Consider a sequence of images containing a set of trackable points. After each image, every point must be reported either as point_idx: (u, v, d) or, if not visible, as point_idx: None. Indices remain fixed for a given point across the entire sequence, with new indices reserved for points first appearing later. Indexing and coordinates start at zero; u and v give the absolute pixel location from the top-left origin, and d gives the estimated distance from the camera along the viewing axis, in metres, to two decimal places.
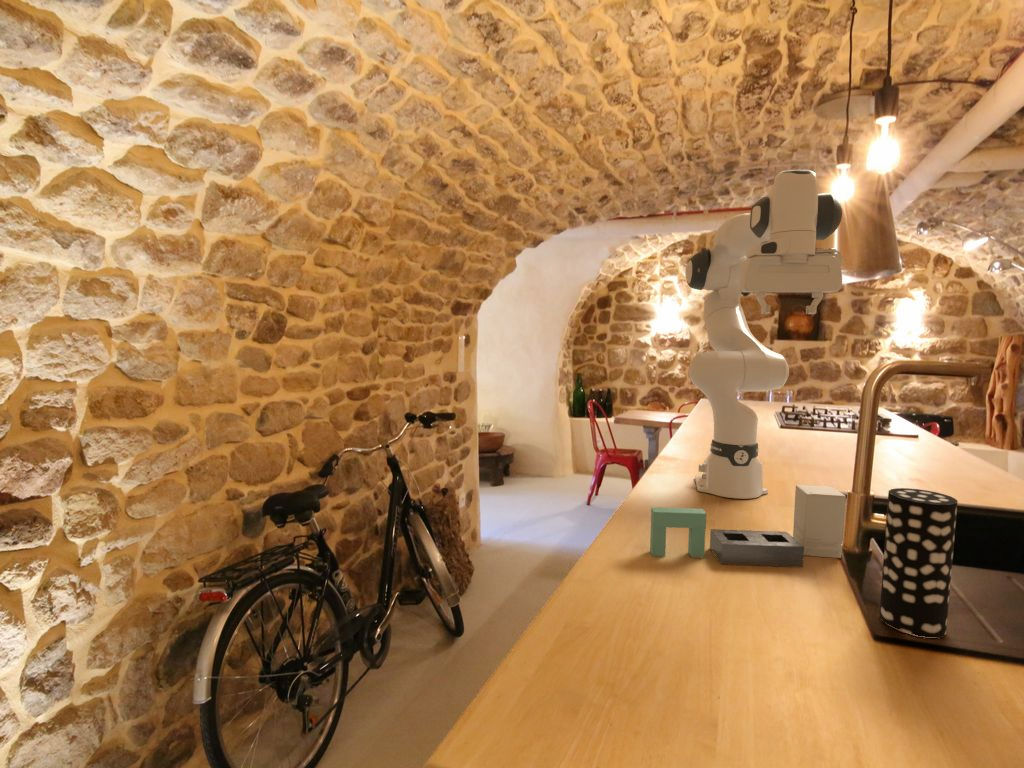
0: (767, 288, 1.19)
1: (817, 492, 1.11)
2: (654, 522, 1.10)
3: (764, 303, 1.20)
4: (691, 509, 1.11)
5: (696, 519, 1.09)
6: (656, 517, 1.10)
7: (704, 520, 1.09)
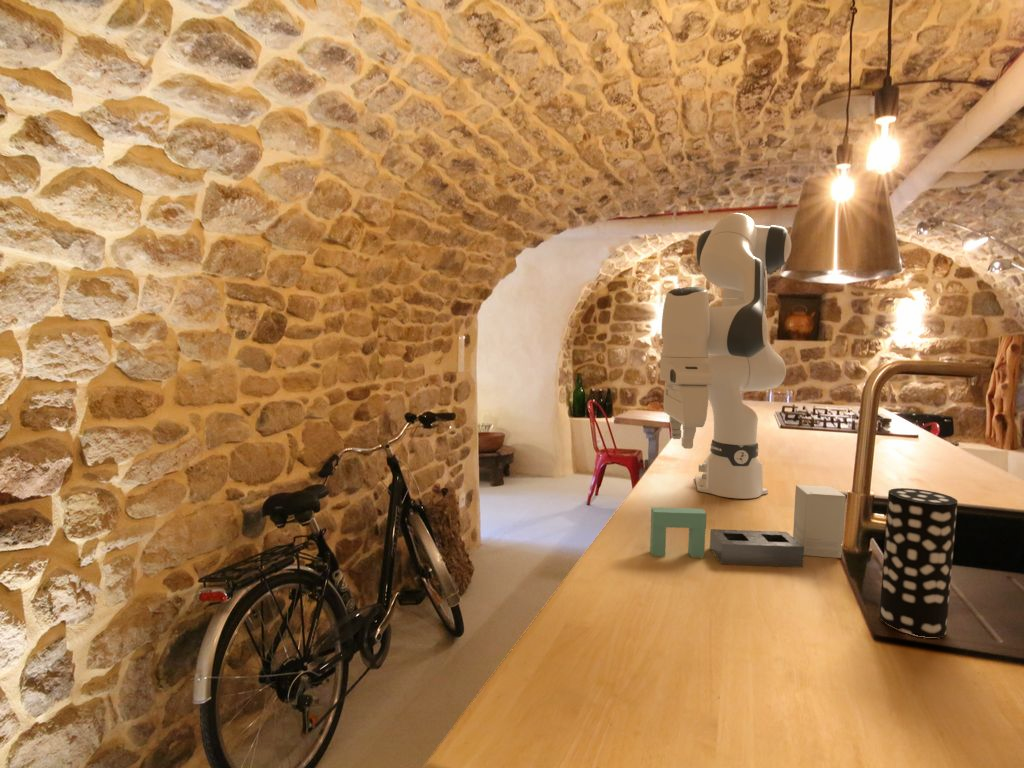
0: None
1: (817, 492, 1.11)
2: (654, 522, 1.10)
3: None
4: (691, 509, 1.11)
5: (696, 519, 1.09)
6: (656, 517, 1.10)
7: (704, 520, 1.09)
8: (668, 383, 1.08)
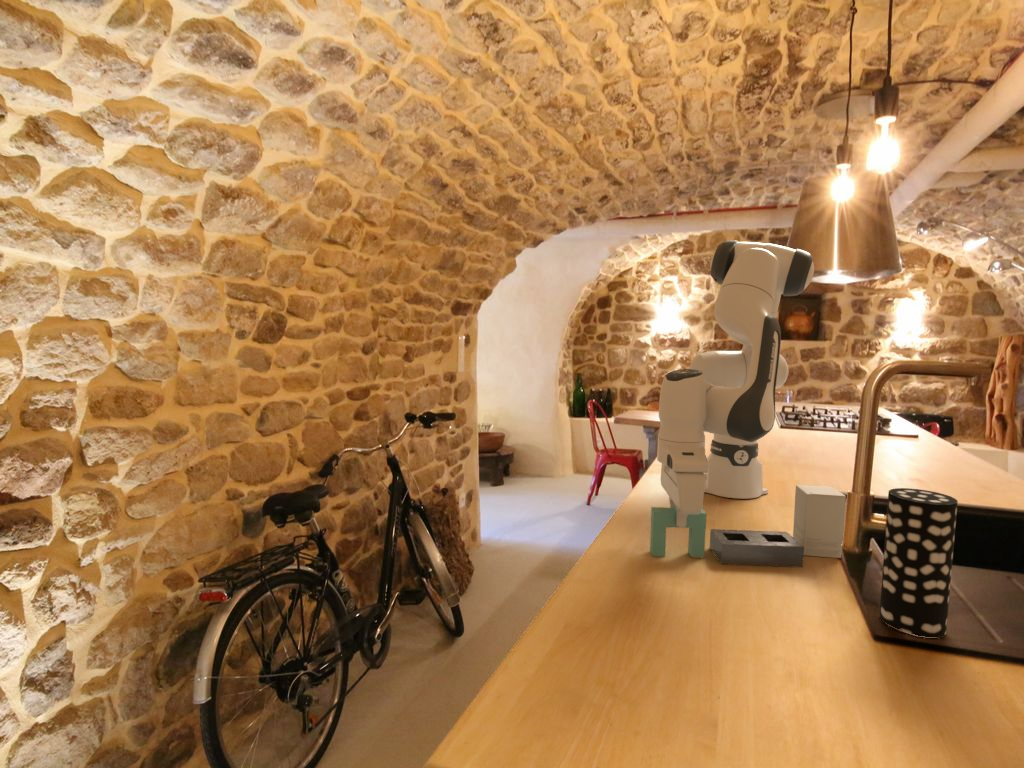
0: None
1: (817, 492, 1.11)
2: (654, 522, 1.10)
3: None
4: None
5: (696, 519, 1.09)
6: (656, 517, 1.10)
7: (704, 520, 1.09)
8: (665, 464, 1.09)
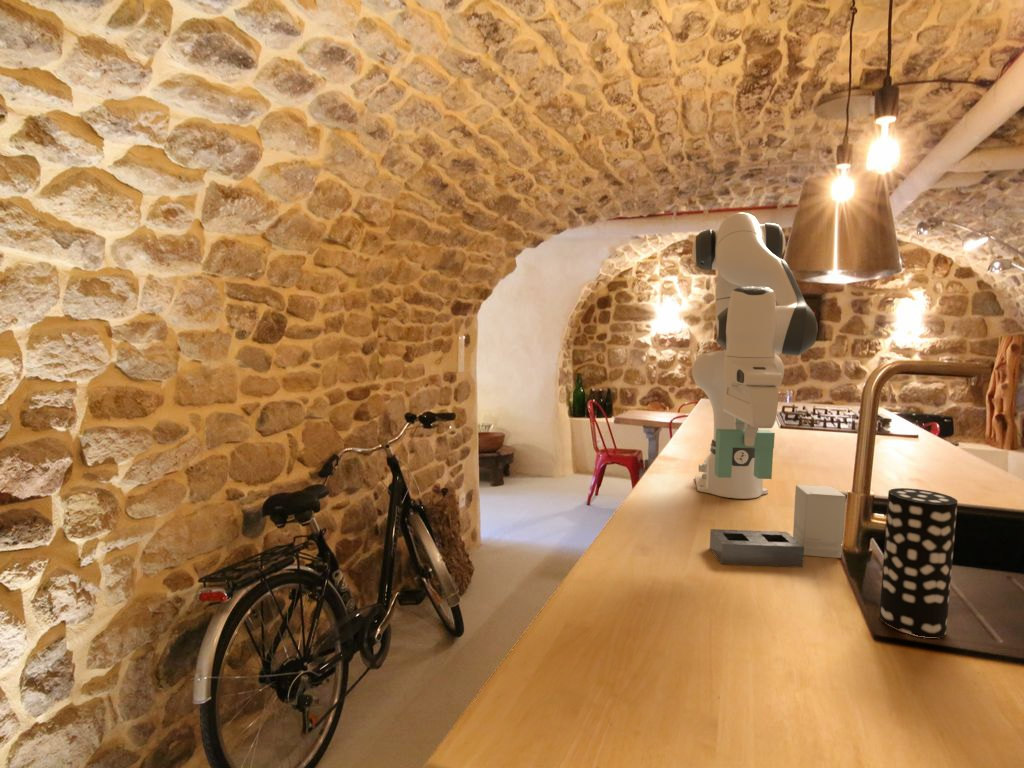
0: None
1: (817, 492, 1.11)
2: (720, 442, 1.08)
3: None
4: (758, 430, 1.09)
5: (764, 439, 1.07)
6: (722, 437, 1.08)
7: (772, 440, 1.07)
8: (733, 383, 1.07)
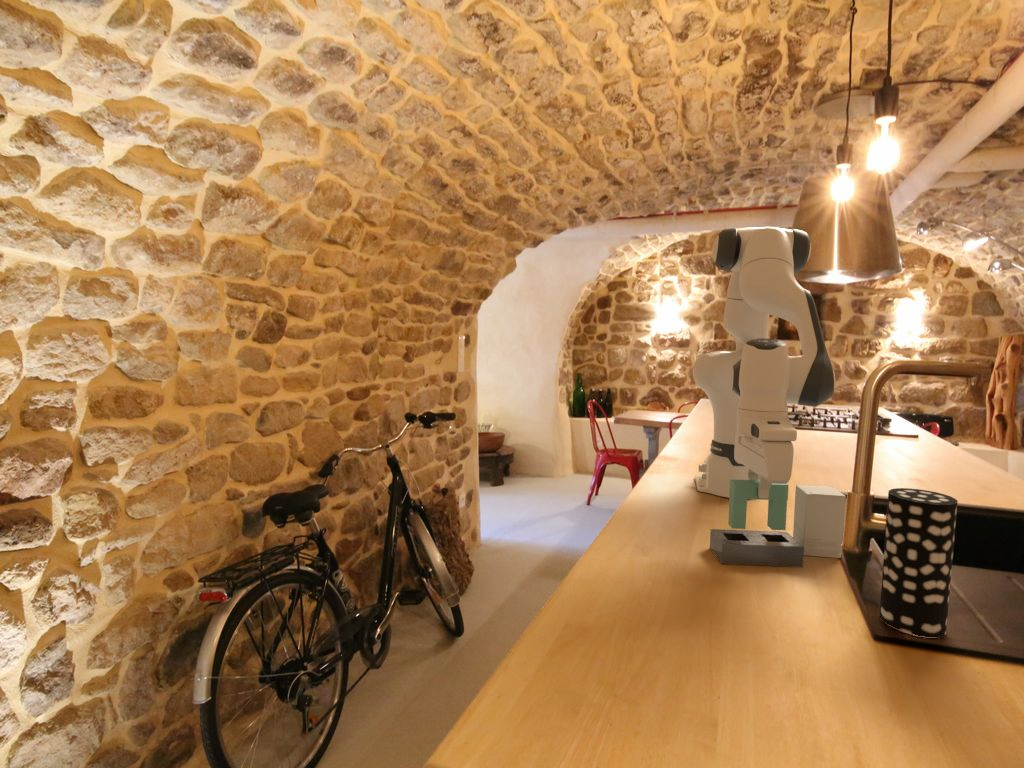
0: None
1: (817, 492, 1.11)
2: (735, 494, 1.08)
3: None
4: None
5: (778, 490, 1.07)
6: (736, 489, 1.08)
7: (786, 491, 1.07)
8: (746, 435, 1.08)
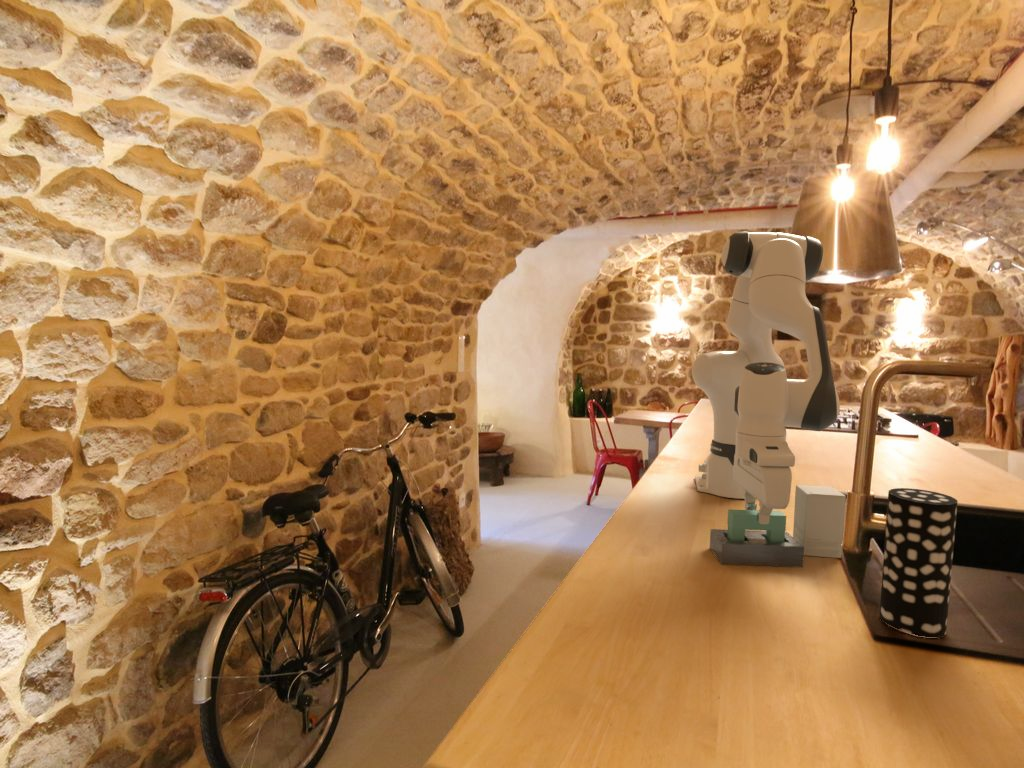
0: None
1: (817, 492, 1.11)
2: (733, 524, 1.09)
3: None
4: None
5: (776, 521, 1.08)
6: (735, 520, 1.09)
7: (784, 522, 1.08)
8: (745, 459, 1.08)
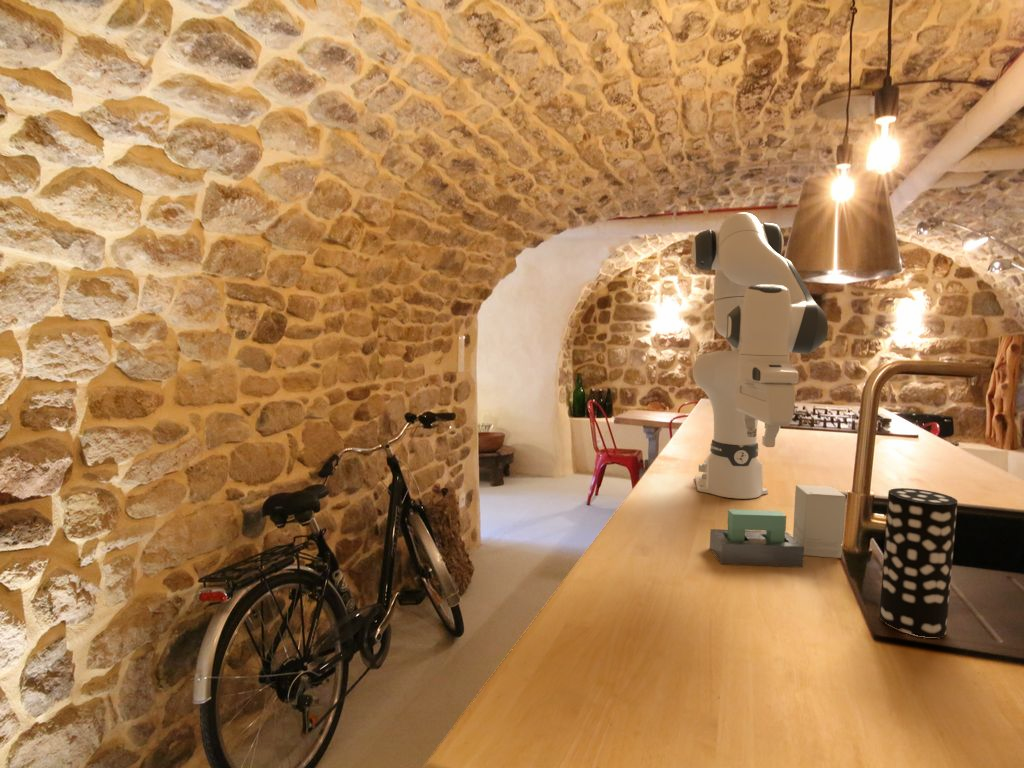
0: None
1: (817, 492, 1.11)
2: (733, 524, 1.09)
3: None
4: (769, 511, 1.10)
5: (776, 521, 1.08)
6: (735, 520, 1.09)
7: (784, 522, 1.08)
8: (747, 381, 1.07)
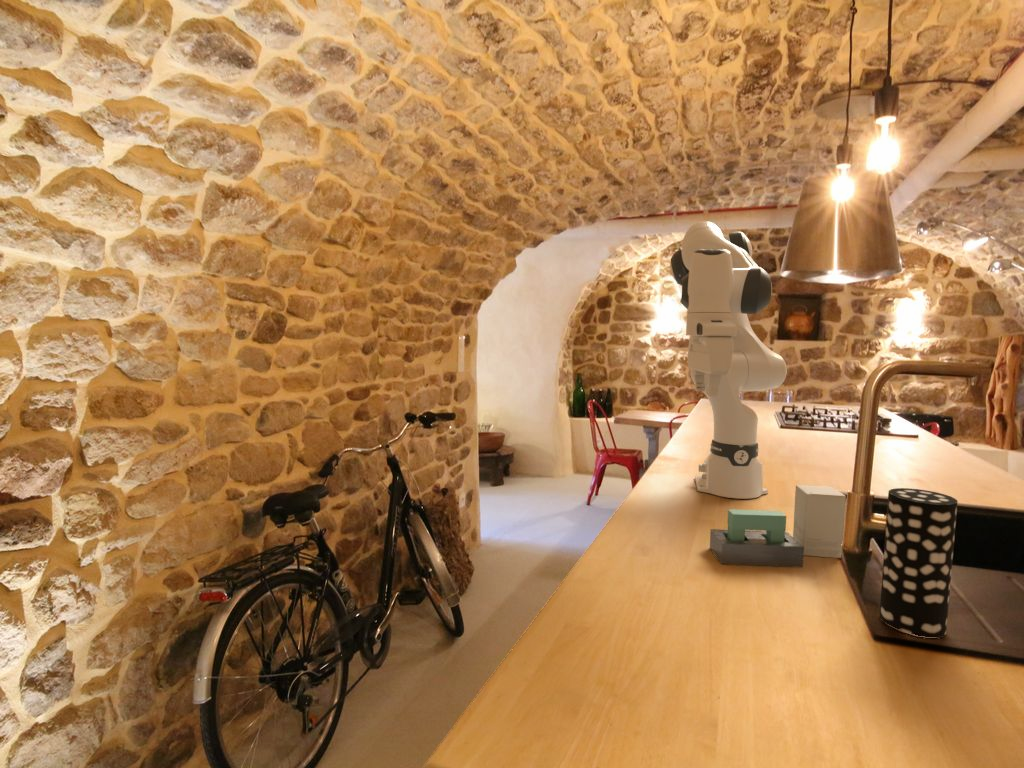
0: None
1: (817, 492, 1.11)
2: (733, 524, 1.09)
3: None
4: (769, 511, 1.10)
5: (776, 521, 1.08)
6: (735, 520, 1.09)
7: (784, 522, 1.08)
8: (694, 337, 1.16)
